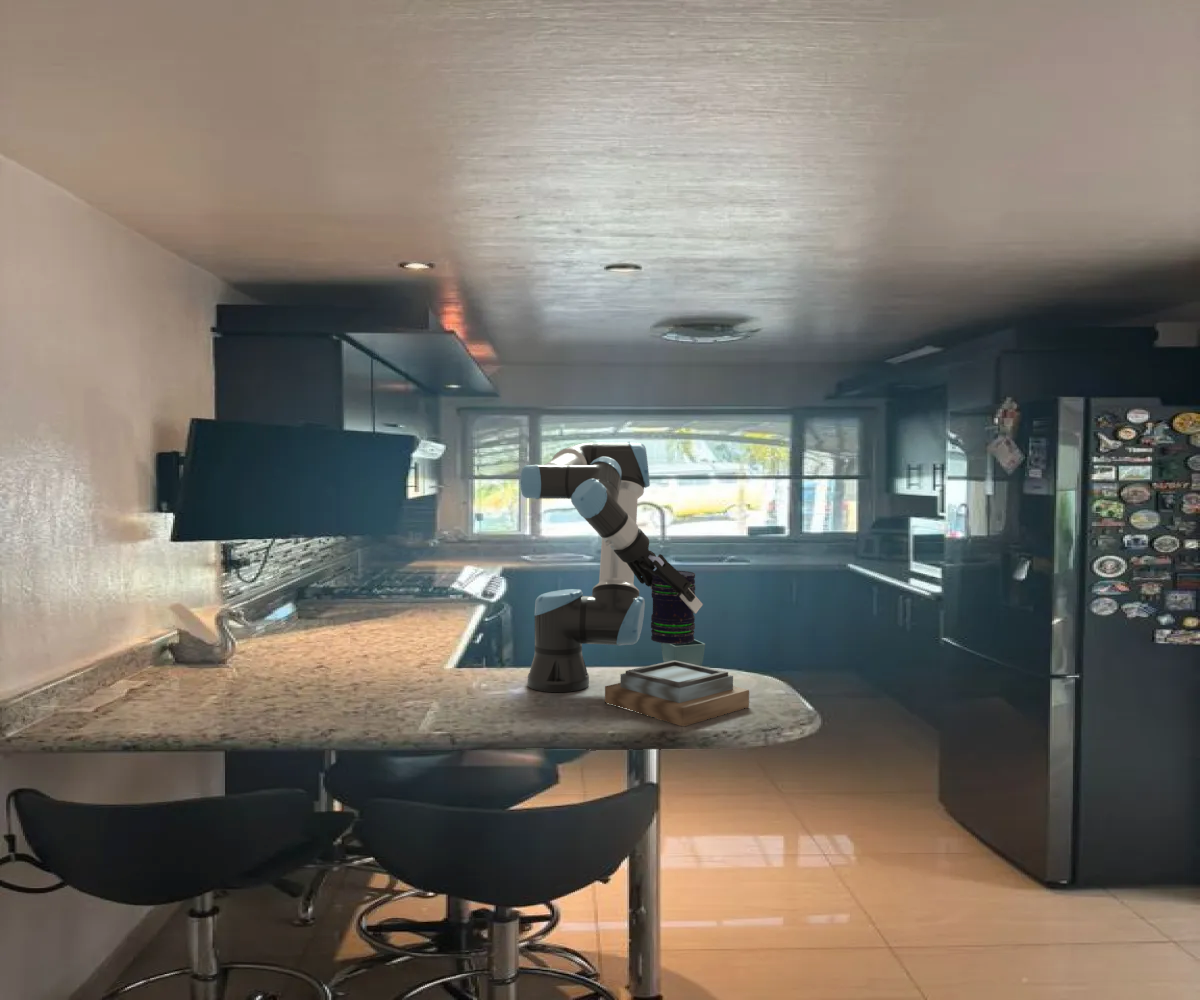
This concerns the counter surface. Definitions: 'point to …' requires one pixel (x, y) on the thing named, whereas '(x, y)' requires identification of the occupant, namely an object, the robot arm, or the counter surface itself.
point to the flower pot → (684, 652)
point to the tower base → (679, 708)
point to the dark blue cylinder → (671, 613)
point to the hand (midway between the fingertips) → (684, 605)
